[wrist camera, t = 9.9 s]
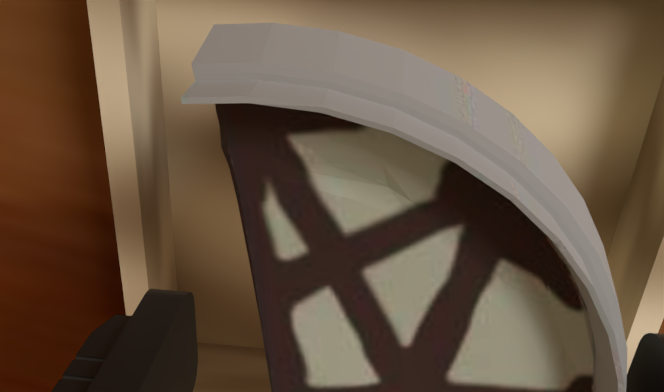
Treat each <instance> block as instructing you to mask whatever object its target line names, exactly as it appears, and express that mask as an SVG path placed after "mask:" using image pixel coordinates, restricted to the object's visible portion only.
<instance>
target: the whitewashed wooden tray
mask: <svg viewBox="0 0 664 392" xmlns="http://www.w3.org/2000/svg"><path fill="white" fill-rule="evenodd" d="M87 8H88V16H89V24H90V32H91V40H92V48H93V56H94V64H95V72H96V80H97V88H98V96H99V104H100V112H101V120H102V128H103V136H104V144H105V152H106V160H107V168H108V176H109V184H110V192H111V199H112V207H113V215H114V223H115V231H116V239H117V247H118V255H119V263H120V271H121V279H122V287H123V295H124V303H125V311H126V315H127V316H132V315H133V313H134V312H135V310H136V308H137V307H138V305H139V303H140V302H141V300H142V298H143V297H144V295H145V293H146V292H147V291H148V290H149V289H160V290H172V291H184V292H191V293H192V294H193V296H194V302H195V317H196V333H197V349H198V368H197V376H196V381H195V385H194V389H193V392H272V391H271V384H270V378H269V372H268V366H267V360H266V354H265V347H264V341H263V335H262V329H261V323H260V317H259V312H258V307H257V301H256V296H255V290H254V285H253V279H252V274H251V268H250V263H249V258H248V253H247V248H246V243H245V238H244V232H243V227H242V222H241V217H240V212H239V207H238V202H237V197H236V193H235V189H234V185H233V181H232V177H231V173H230V169H229V166H228V163H227V161H226V158H225V155H224V153H223V150H222V148H221V137H220V125H219V121H218V117H217V113H216V107H215V104H182V101H181V97H182V95H183V94H184V93H185V92H186V91H187V90H188V89H189V88H190V86H191V85H192V84H193V83H194V82H195V78H194V74H193V69H192V65H191V63H192V61H193V60H194V58H195V56H196V55H197V53H198V51H199V49H200V48H201V46H202V44H203V42H204V41H205V39H206V37H207V36H208V34H209V32H210V30H211V29H212V27H213V25H214V24H246V23H280V24H287V25H295V26H303V27H311V28H319V29H327V30H335V31H341V32H344V33H348V34H351V35H355V36H358V37H361V38H365V39H368V40H372V41H375V42H378V43H382V44H385V45H389V46H392V47H395V48H399V49H402V50H405V51H407V52H409V53H411V54H413V55H415V56H417V57H419V58H421V59H424V60H426V61H428V62H430V63H432V64H434V65H436V66H438V67H440V68H442V69H444V70H446V71H448V72H451V73H453V74H455V75H457V76H459V77H461V78H463V79H464V80H466V81H467V82H468V83H470V84H471V85H473V86H474V87H476V88H477V89H478V90H480V91H481V92H483V93H484V94H485V95H487V96H488V97H490V98H491V99H493V100H494V101H495V102H497V103H498V104H500V105H501V106H502V107H504V108H505V109H507V110H508V111H510V112H511V113H512V114H513V115H514V116H515V117H516V118H517V119H518V120H519V121H520V122H521V123H522V124H523V125H524V126H525V127H526V128H527V129H528V130H529V131H530V132H531V133H532V134H533V135H534V136H535V137H536V138H537V139H538V140H539V141H540V142H541V143H542V144H543V145H544V146H545V147H546V148H547V149H548V150H549V151H550V152H551V153H552V154H553V155H554V156H555V158H556V159H557V161H558V162H559V164H560V165H561V167H562V168H563V170H564V171H565V173H566V174H567V175H568V177H569V178H570V180H571V181H572V183H573V184H574V186H575V187H576V189H577V190H578V192H579V193H580V195H581V196H582V197H583V199H584V201H585V203H586V206H587V208H588V210H589V213H590V215H591V217H592V220H593V222H594V224H595V227H596V229H597V231H598V234H599V236H600V239H601V241H602V243H603V246H604V249H605V253H606V257H607V261H608V264H609V268H610V272H611V276H612V280H613V283H614V287H615V291H616V295H617V298H618V302H619V308H620V313H621V318H622V323H623V329H624V334H625V339H626V344H627V373H628V370H629V368H630V365H631V363H632V360H633V357H634V355H635V352H636V349H637V347H638V344H639V342H640V340H641V338H642V337H643V336H644V335H645V334H647V333H657V334H658V331H659V329H660V326H661V323H662V321H663V318H664V0H87Z"/></svg>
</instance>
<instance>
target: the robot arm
mask: <svg viewBox="0 0 664 392" xmlns="http://www.w3.org/2000/svg"><path fill="white" fill-rule="evenodd" d="M197 368H198V349H197V333H196V317H195V302H194V296H193V294H192V293H191V292H184V291H172V290H160V289H149V290H148V291H147V292H146V293H145V295H144V297H143V298H142V300H141V302H140V303H139V305H138V307H137V308H136V310H135V312H134V313H133V315H132V316H127V315H115V316H113V317H112V318H111V319H109V320H108V321H106V322H105V323H104V324H102V325H101V326H100V327H98V328H97V329H96V330H94V331H93V332H92V333H91V334H90V335H89V337H88V338H87V340H86V341H85V343H84V344H83V346H82V347H81V349H80V350H79V352H78V353H77V355H76V359H75V360H73V361H72V362H71V364H70V365H69V367H68V368H67V370H66V371H65V372H64V374H63V379H62V380H61V379H60V380H59V381H58V383H57V384H56V386H55V387H54V389H53V390H52V392H193V389H194V385H195V381H196V376H197ZM626 392H664V334H657V333H647V334H645V335H644V336H643V337H642V338H641V340H640V342H639V344H638V347H637V349H636V352H635V355H634V357H633V360H632V363H631V365H630V368H629V370H628V373H627V383H626Z"/></svg>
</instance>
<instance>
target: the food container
mask: <svg viewBox="0 0 664 392" xmlns="http://www.w3.org/2000/svg"><path fill="white" fill-rule="evenodd" d="M191 65H192V69H193V74H194V78H195V82H194V83H193V84H192V85H191V86H190V88H189V89H188V90H187V91H186V92H185V93H184V94H183V95H182V97H181V101H182V104H215V107H216V113H217V117H218V121H219V125H220V137H221V148H222V150H223V153H224V155H225V158H226V161H227V163H228V166H229V169H230V173H231V177H232V181H233V185H234V189H235V193H236V197H237V202H238V207H239V212H240V217H241V222H242V227H243V232H244V238H245V243H246V248H247V253H248V258H249V263H250V268H251V274H252V279H253V285H254V290H255V296H256V301H257V307H258V312H259V317H260V323H261V329H262V335H263V341H264V347H265V354H266V360H267V366H268V372H269V378H270V384H271V391H272V392H626V383H627V344H626V339H625V334H624V329H623V323H622V318H621V313H620V308H619V302H618V298H617V295H616V291H615V287H614V283H613V280H612V276H611V272H610V268H609V264H608V261H607V257H606V253H605V249H604V246H603V243H602V241H601V239H600V236H599V234H598V231H597V229H596V227H595V224H594V222H593V220H592V217H591V215H590V213H589V210H588V208H587V206H586V203H585V201H584V199H583V197H582V196H581V195H580V193H579V192H578V190H577V189H576V187H575V186H574V184H573V183H572V181H571V180H570V178H569V177H568V175H567V174H566V173H565V171H564V170H563V168H562V167H561V165H560V164H559V162H558V161H557V159H556V158H555V156H554V155H553V154H552V153H551V152H550V151H549V150H548V149H547V148H546V147H545V146H544V145H543V144H542V143H541V142H540V141H539V140H538V139H537V138H536V137H535V136H534V135H533V134H532V133H531V132H530V131H529V130H528V129H527V128H526V127H525V126H524V125H523V124H522V123H521V122H520V121H519V120H518V119H517V118H516V117H515V116H514V115H513V114H512V113H511V112H510V111H508V110H507V109H505V108H504V107H502V106H501V105H500V104H498V103H497V102H495V101H494V100H493V99H491V98H490V97H488V96H487V95H485V94H484V93H483V92H481V91H480V90H478V89H477V88H476V87H474V86H473V85H471V84H470V83H468V82H467V81H466V80H464V79H463V78H461V77H459V76H457V75H455V74H453V73H451V72H448V71H446V70H444V69H442V68H440V67H438V66H436V65H434V64H432V63H430V62H428V61H426V60H424V59H421V58H419V57H417V56H415V55H413V54H411V53H409V52H407V51H405V50H402V49H399V48H395V47H392V46H389V45H385V44H382V43H378V42H375V41H372V40H368V39H365V38H361V37H358V36H355V35H351V34H348V33H344V32H341V31H335V30H327V29H319V28H311V27H303V26H295V25H287V24H280V23H246V24H214V25H213V27H212V29H211V30H210V32H209V34H208V36H207V37H206V39H205V41H204V42H203V44H202V46H201V48H200V49H199V51H198V53H197V55H196V56H195V58H194V60H193V61H192V63H191Z"/></svg>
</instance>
